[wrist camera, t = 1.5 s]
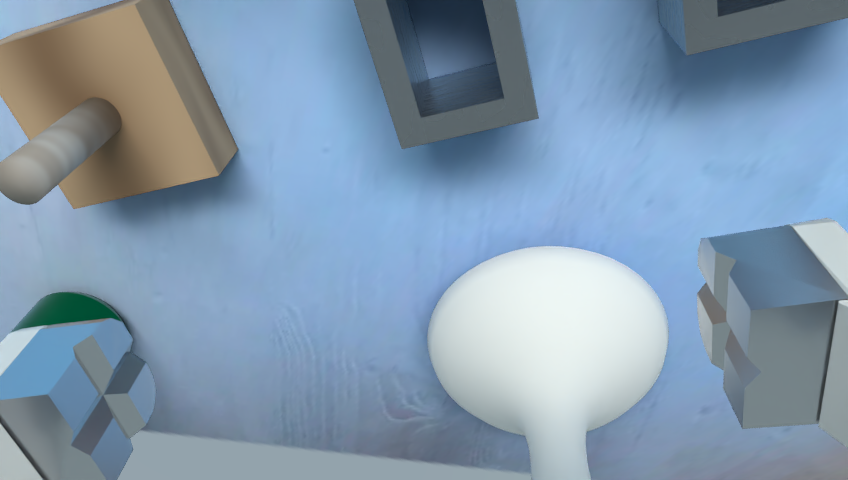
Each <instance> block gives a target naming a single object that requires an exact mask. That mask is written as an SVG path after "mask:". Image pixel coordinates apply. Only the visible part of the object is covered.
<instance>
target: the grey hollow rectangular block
mask: <svg viewBox="0 0 848 480" xmlns="http://www.w3.org/2000/svg"><path fill="white" fill-rule="evenodd" d="M354 3H355V6H356V9H357V12H358V15H359V18H360V21H361V24H362V28H363V31H364V34H365V37H366V40H367V43H368V46H369V49H370V52H371V55H372V58H373V62H374V65H375V68H376V71H377V74H378V77H379V80H380V83H381V86H382V89H383V92H384V96H385V99H386V102H387V105H388V108H389V111H390V114H391V117H392V120H393V123H394V126H395V130H396V133H397V136H398V139H399V142H400V145H401V148H402V149H405V148H409V147H414V146H418V145H423V144H427V143H432V142H436V141H440V140H445V139H449V138H454V137H458V136H463V135H467V134H471V133H476V132H480V131H485V130H489V129H494V128H498V127H502V126H507V125H511V124H516V123H520V122H525V121H529V120H533V119H538V118H539V117H538V112H537V106H536V100H535V95H534V89H533V83H532V78H531V73H530V68H529V63H528V58H527V53H526V47H525V42H524V37H523V32H522V27H521V22H520V17H519V12H518V7H517V2H516V0H483V5H484V9H485V14H486V18H487V23H488V27H489V32H490V36H491V41H492V45H493V50H494V54H495V59H496V63H493V64H489V65H485V66H480V67H476V68H472V69H468V70H464V71H460V72H456V73H452V74H448V75H444V76H440V77H436V78H432V79H428V75H427V72H426V68H425V64H424V61H423V57H422V54H421V50H420V47H419V43H418V40H417V36H416V33H415V29H414V26H413V22H412V19H411V15H410V11H409V8H408V4H407V1H406V0H354Z"/></svg>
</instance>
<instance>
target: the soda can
mask: <svg viewBox="0 0 848 480" xmlns="http://www.w3.org/2000/svg"><path fill="white" fill-rule="evenodd" d="M106 318H112V319H115V320H118V321H121V322H123V321H122V319H121V318H120V316H119V315H118V314H117V312H116V311H115V310H114V309H113V308H112V307H111V306H109V305H108V304H107V303H105V302H103V301H102V300H100V299H98V298H96V297H94V296H91V295H88V294H84V293H78V292H59V293H53V294H50V295H47V296H45V297H44V298H42V299H41V300H40V301H39V302H37V304H36V305H35V306H34V307H33V308H32V309H31V310H30V311H29V312H28V314H27V315H26V316H25V317H24V318H23V319H22V320H21V321H20V322H19V323H18V325H17V326H16V327H15V328H14V329H13V330H12V331H11V332H14V331H17V330H20V329H24V328H31V327H38V326H45V325H46V326H50V325H54V324H63V323H71V322H80V321H89V320H98V319H106ZM123 324H124V323H123ZM11 332H10V333H11Z"/></svg>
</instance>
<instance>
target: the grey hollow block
mask: <svg viewBox="0 0 848 480" xmlns="http://www.w3.org/2000/svg"><path fill="white" fill-rule="evenodd" d="M657 2H658V14H659V23H660V24H661V25H662V26H663V27H664V29H665V30H666V31H667V32H668V34H669V35H670V36H671V37H672V38H673V40H674V41H675V42H676V43H677V44H678V46H679V47H680V48H681V49H682V51H683V52H684V53H685V54H686V55H691V54H695V53H700V52H704V51H708V50H712V49H717V48H721V47H725V46H729V45H734V44H738V43H742V42H747V41H751V40H755V39H759V38H764V37H768V36H772V35H776V34H781V33H785V32H789V31H793V30H798V29H802V28H806V27H810V26H815V25H819V24H823V23H827V22H832V21H836V20H840V19H845V18H848V0H657Z"/></svg>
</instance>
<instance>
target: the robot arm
mask: <svg viewBox="0 0 848 480" xmlns="http://www.w3.org/2000/svg"><path fill="white" fill-rule="evenodd" d="M698 267H699V269H700V271H701V273H702V275H703V277H704V279H705V281H706V283H705V285H704V286H703V287H702V288H701V289H700V291H699V292H698V293H697V313H698V320H699V327H700V333H701V337H702V340H703V343H704V347H705V349H706V352H707V354H708V356H709V359H710V361H711V363H712V364H714V365H716V366H717V367H719V368H721V369H722V370H724V382H723V389H724V391H725V393H726V395H727V397H728V399H729V402H730V404H731V406H732V408H733V410H734V412H735V414H736V416H737V418H738V421H739V423H740V425H741V427H742V429H748V428H762V427H776V426H791V425H805V424H819V426H818V427H819V428H821V429H822V430H823V431H825V432H826V433H828V434H829V435H830V436H832V437H833V438H834V439H836V440H837V441H839V442H840V443H841V444H843V445H844V446H845V447H847V448H848V233H847V232H846V231H845V230H844V229H843V228H842V227H841V226H840V225H839V224H838V223H837V222H836V221H835V220H832V219H829V218H823V219H817V220H811V221H805V222H799V223H793V224H788V225H784V226H779V227H773V228H766V229H760V230H753V231H747V232H740V233H734V234H727V235H721V236H714V237H708V238H701V240H700V244H699V248H698ZM132 342H133V338H132V337H131V335H130V333H129V332H128V330H127V329H126V327H125V325H124V324H123V322H121V321H118V320H115V319H112V318H106V319H98V320H89V321H80V322H71V323H63V324H54V325H50V326H46V325H45V326H38V327H31V328H24V329H20V330H17V331H14V332H11V333H9V334H8V335H7V336H6V337H5V339H4V340H3V341H2V342H1V343H0V480H117V479H118V477H119V475H120V473H121V471H122V470H123V468H124V466H125V464H126V462H127V460H128V458H129V457H130V455H131V453H132V451H133V447H132V444H131V440H130V438H131V437H132V436H133V435H135V434H136V433H137V432H138V431H139V430H141V429H142V428H143V427H144V426H146V424H147V422H148V420H149V418H150V416H151V414H152V412H153V410H154V406H155V397H156V386H155V382H154V378H153V374H152V372H151V371H150V369H149V367H148V365H147V363H146V362H145V361H143V360H142V359H140V358H139V357H137V356H136V355H134V354H133V353H131V352H130V350H131V346H132Z"/></svg>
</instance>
